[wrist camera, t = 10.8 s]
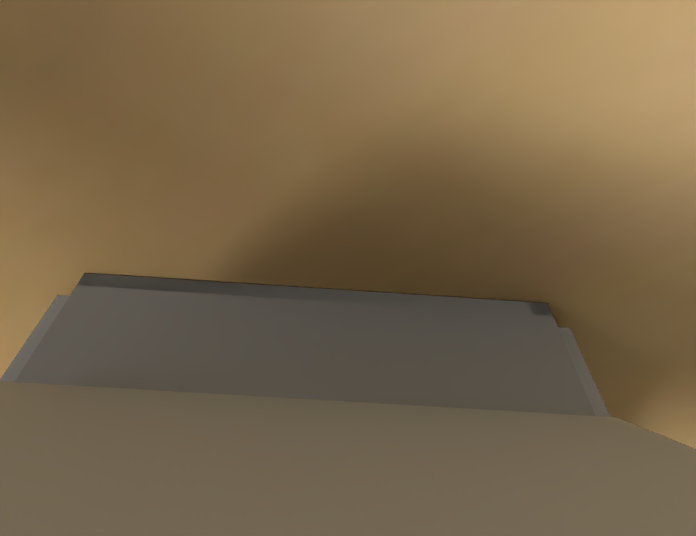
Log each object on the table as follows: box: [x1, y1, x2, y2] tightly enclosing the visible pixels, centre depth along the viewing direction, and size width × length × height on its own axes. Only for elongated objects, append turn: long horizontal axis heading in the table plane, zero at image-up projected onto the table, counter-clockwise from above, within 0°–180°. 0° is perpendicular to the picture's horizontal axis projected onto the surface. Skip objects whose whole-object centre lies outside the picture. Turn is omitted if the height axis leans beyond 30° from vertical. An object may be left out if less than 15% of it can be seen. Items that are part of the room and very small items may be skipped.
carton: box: [0, 273, 610, 417], centre depth 21 cm, size 15×18×5 cm
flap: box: [0, 381, 696, 536], centre depth 8 cm, size 14×9×1 cm
